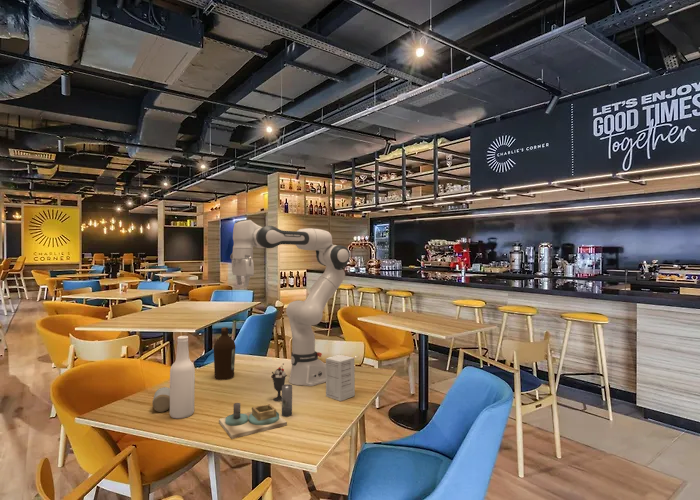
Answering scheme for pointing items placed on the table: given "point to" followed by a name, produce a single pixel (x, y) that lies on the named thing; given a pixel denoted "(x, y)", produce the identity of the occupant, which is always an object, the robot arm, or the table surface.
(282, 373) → the sundae
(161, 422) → the table surface
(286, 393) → the axle
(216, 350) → the olive oil
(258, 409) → the gear board
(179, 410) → the alcohol
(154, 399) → the ceramic mug
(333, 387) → the supplement box
